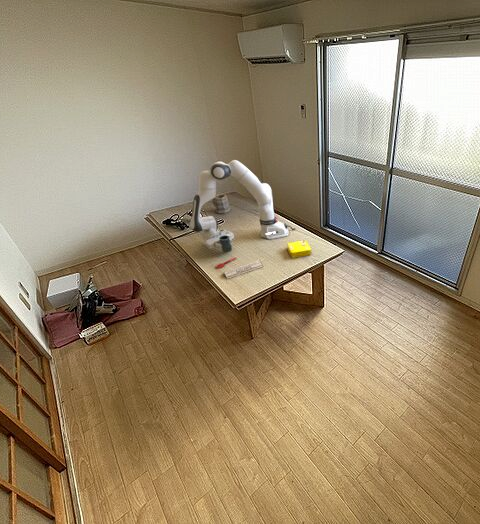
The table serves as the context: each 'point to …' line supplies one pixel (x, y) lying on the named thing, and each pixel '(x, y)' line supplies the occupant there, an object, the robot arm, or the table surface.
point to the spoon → (223, 263)
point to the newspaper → (242, 269)
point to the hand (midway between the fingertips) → (226, 243)
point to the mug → (225, 243)
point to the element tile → (299, 249)
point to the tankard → (221, 203)
